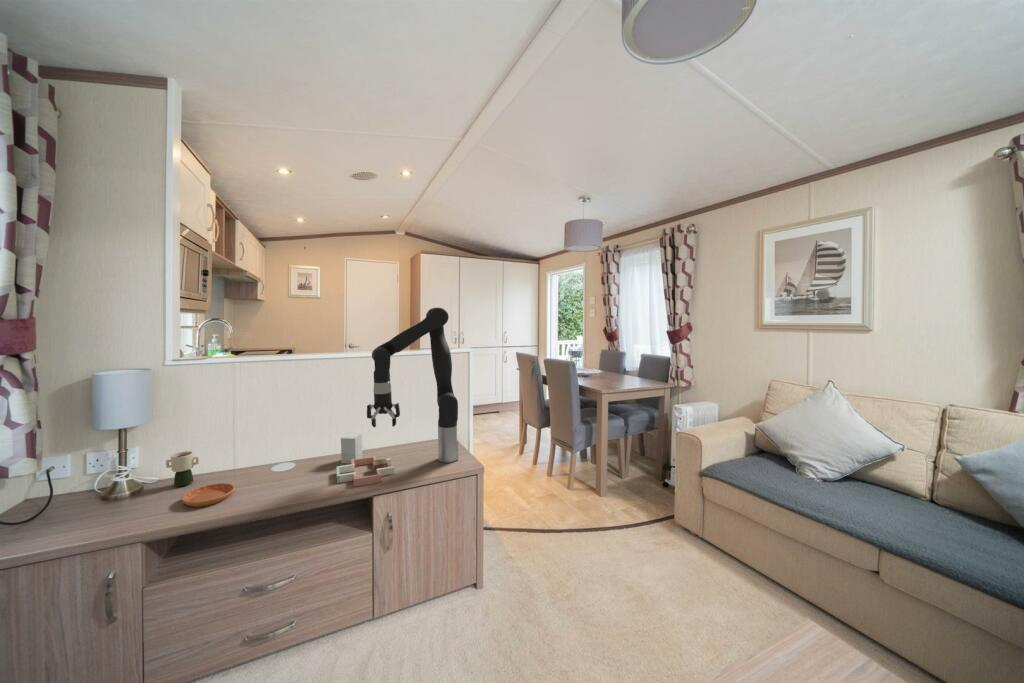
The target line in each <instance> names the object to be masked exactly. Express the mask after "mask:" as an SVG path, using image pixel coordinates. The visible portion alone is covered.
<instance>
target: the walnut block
mask: <svg viewBox="0 0 1024 683" xmlns="http://www.w3.org/2000/svg"><path fill="white" fill-rule="evenodd" d="M386 459H387V458H382V459H377V460H373V463H372V472H373V475H377V469H379V468H386V467H389V466H388V462H387V460H386Z"/></svg>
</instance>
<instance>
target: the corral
mask: <svg viewBox="0 0 1024 683" xmlns="http://www.w3.org/2000/svg"><path fill="white" fill-rule="evenodd" d="M385 459H386V460H387V462H388V467H386V468H379V469H377V474H375V475H374V474H373V475H365V476H361V477H357V476H358V475H357V472H356V466H363V465H372V464H373V460H378V459H377V457H376V455H373V456H365V457H363V458H357V459H351V464H345V465H343V464H342V465H339V466H336V484H340V483H347V482H352V481H353V486H354V487H358V486H359V487H360V486H366V485H371V484H376V483H381V482H383V481H382V477H383V476H388V475H395V466H394V465H393V466H392V458H385Z"/></svg>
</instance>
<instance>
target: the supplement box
mask: <svg viewBox="0 0 1024 683" xmlns="http://www.w3.org/2000/svg"><path fill="white" fill-rule="evenodd" d="M340 451H341V452H340V453H341V454H340V455H341V464H345V465H350V464H351V459H357V458H364V457H363V456H364V454H363V433H347V434H345V435H344V436H342V437H341V438H340Z"/></svg>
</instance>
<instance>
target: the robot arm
mask: <svg viewBox="0 0 1024 683" xmlns="http://www.w3.org/2000/svg"><path fill="white" fill-rule="evenodd" d="M448 321H449V312H448V311H447V310H446V309H444V307H443V308H442V307H432V308H429V310H427V312H426V315H425V317H424V318H423V320H421V321H419V322H418V323H416V324H414V325H413V326H411V327H409V328H407V329H405V330H403V331H401V332H400V333H399V334H397V335H395V336H393V337H392V338H391V339H390V340H388V341H386V342H384V343H382V344H381V345H378V346H377V347H376V348H374V349H373V350H372V352H371V358H372V360H373V361H374V370H373V401H374V402H373V403H374V404H371V403H369V404H367V405H366V418H367V419H370V420H371V426H372V427H373V428H376V427H377V418H376V417H377V415H378V414H379V415H383V414H384V415H387V414H388V415H389V416H390V417H391V422H392V424H391V425H392V426H391V427H395V426H396V425H397V418H399V417H400V416H401V411H400V410H401V408H400V403H399V402H397V403H393V400H392V384H391V373H390V369H391V357H392V356H393V355H395V354H398V353H400V352H402V351H403V350H405V349H406V348H407V347H409V346H411V345H412V344H413V343H416V341H417V340H419V339H421V338H422V337H424V336H425V335H427V334H429V338H430V339H429V342H430V351H431V353H430V354H431V361H432V369H433V371H434V372H433V373H434V377H435V382H436V394H437V395H436V400H437V401H436V403H437V406H438V420H437V449H438V450H437V461H438V462H440V463H447V464H448V463H453V462H456V461H458V460H459V440H458V419H459V418H458V417H459V403H458V402H459V401H458V399H457V397H456V396H455V394H454V389H453V383H452V374H453V373H452V372H453V361H452V354H451V350H450V346H449V345H448V341H447V339H446V336H445V327H444V326H445V325H446V324H447V322H448ZM393 408H394V410H395V412H394V411H393V410H392V409H393ZM373 409H374V410H375V411H374V413H373V414H372V410H373Z"/></svg>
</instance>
